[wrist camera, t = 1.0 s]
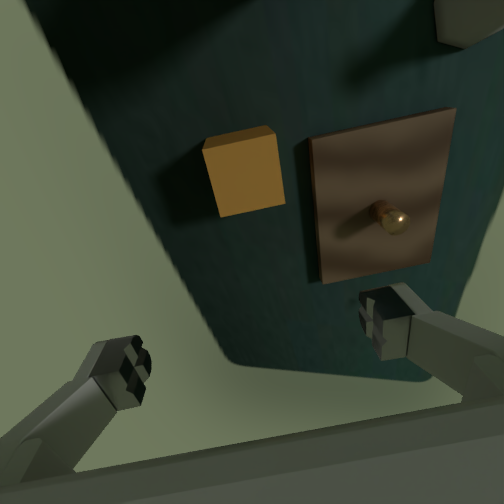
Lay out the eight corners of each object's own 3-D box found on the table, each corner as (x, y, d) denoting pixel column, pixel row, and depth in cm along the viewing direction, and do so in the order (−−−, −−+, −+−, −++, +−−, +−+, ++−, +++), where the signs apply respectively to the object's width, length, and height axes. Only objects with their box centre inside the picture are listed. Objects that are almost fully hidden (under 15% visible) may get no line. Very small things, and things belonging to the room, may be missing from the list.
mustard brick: (206, 138, 27) (202, 149, 22) (266, 124, 27) (275, 133, 22) (221, 195, 30) (220, 217, 25) (275, 183, 30) (285, 203, 25)
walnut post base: (307, 137, 28) (324, 147, 23) (445, 107, 28) (491, 110, 23) (319, 277, 37) (333, 305, 33) (422, 256, 37) (451, 280, 32)
